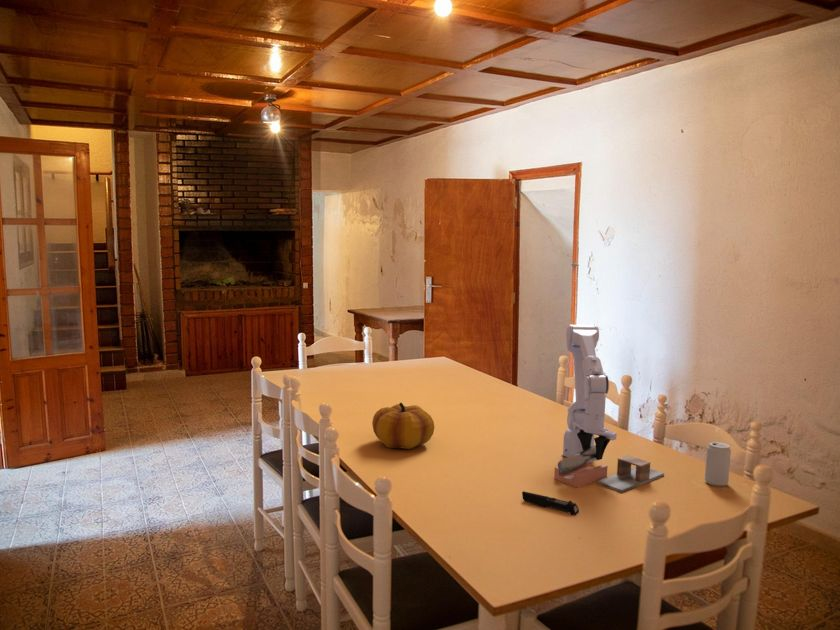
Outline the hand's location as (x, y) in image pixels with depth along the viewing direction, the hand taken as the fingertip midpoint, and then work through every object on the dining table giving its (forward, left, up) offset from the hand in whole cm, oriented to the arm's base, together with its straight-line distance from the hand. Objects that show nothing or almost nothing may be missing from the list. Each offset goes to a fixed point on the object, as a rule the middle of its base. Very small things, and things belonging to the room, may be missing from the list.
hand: (592, 457), depth 197 cm
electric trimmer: (+8, -29, -6) cm, 31 cm away
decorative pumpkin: (-57, -29, -6) cm, 64 cm away
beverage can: (+27, +24, -6) cm, 36 cm away
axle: (0, -6, +1) cm, 6 cm away
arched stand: (+10, +7, -5) cm, 13 cm away
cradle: (0, -5, -5) cm, 8 cm away
